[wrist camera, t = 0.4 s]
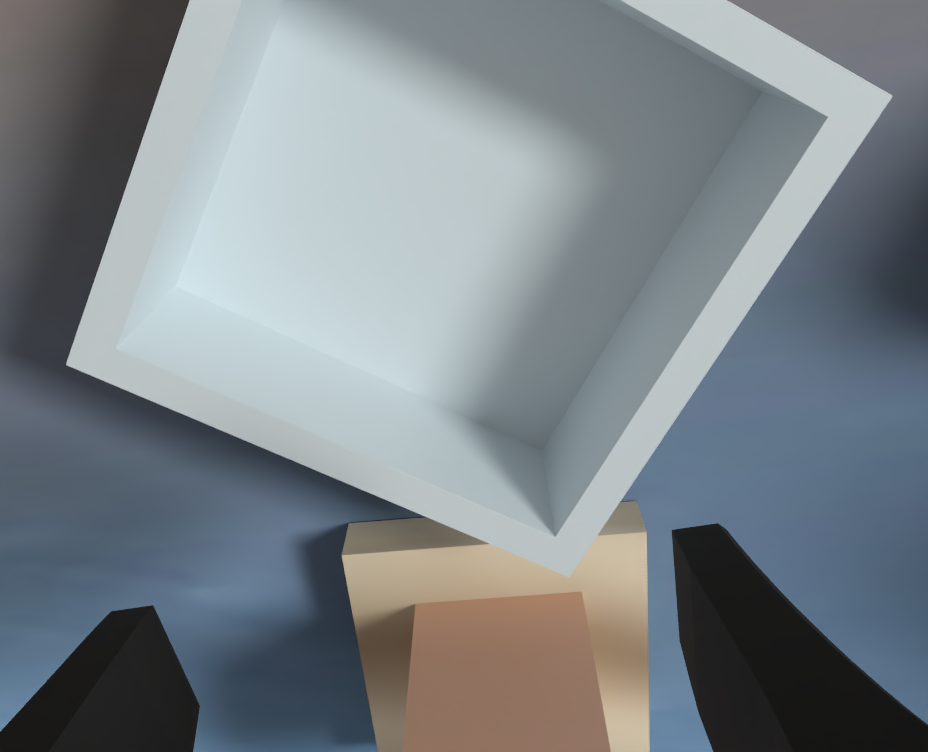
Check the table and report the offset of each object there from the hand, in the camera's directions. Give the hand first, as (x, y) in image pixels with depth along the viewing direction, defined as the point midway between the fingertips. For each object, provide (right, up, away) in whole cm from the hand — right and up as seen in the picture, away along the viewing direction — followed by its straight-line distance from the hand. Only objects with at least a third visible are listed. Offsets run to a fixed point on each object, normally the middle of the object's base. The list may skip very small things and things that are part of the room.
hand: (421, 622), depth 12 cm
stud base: (+2, -4, +14) cm, 14 cm away
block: (+2, -5, +13) cm, 13 cm away
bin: (0, +8, +9) cm, 12 cm away
